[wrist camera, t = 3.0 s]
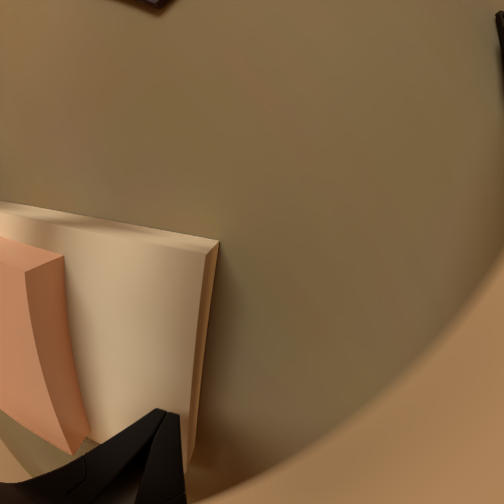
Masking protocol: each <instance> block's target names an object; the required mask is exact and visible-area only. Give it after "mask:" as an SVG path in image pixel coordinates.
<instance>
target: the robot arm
mask: <svg viewBox="0 0 504 504" xmlns="http://www.w3.org/2000/svg"><path fill="white" fill-rule="evenodd" d="M495 16H496V20H497V25H498V29H499V34H500V40H501V45H502V51H503V58H504V12H503V11H499V12H497V13H496V14H495ZM0 504H187V498H186V490H185V480H184V469H183V457H182V443H181V425H180V415H179V414H177V413H173V412H167V411H166V410H163V409H160V408H155V409H153V410H152V411H150V412H149V413H147V414H146V415H145V416H143V417H142V418H140V419H139V420H137V421H136V422H134V423H133V424H131V425H130V426H128V427H127V428H125V429H124V430H122V431H121V432H119V433H118V434H116V435H115V436H113V437H111V438H110V439H108V440H107V441H105V442H104V443H102V444H100V445H99V446H97V447H96V448H94V449H92V450H91V451H89V452H87V453H86V454H84V456H83V455H82V456H81V457H79V458H77V459H76V460H74V461H72V462H70V463H68V464H66V465H64V466H62V467H60V468H58V469H55V470H53V471H51V472H48V473H45V474H43V475H40V476H37V477H35V478H32V479H29V480H26V481H23V482H18V483H3V482H0Z"/></svg>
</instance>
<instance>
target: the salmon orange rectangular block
mask: <svg viewBox="0 0 504 504" xmlns="http://www.w3.org/2000/svg"><path fill="white" fill-rule="evenodd" d="M0 409H1V410H2V411H4V412H5V413H6V414H8V415H9V416H10V417H12V418H13V419H14V420H16V421H17V422H19V423H20V424H22V425H23V426H24V427H26V428H27V429H29V430H30V431H32V432H33V433H35V434H36V435H38V436H40V437H41V438H43V439H44V440H46V441H48V442H49V443H51V444H53V445H54V446H56V447H58V448H60V449H61V450H63V451H65V452H67V453H69V454H70V455H72V456H73V455H74V454H75V452H76V451H77V449H78V448H79V446H80V445H81V443H82V442H83V440H84V439H85V437H86V436H87V435H88V433H89V432H90V430H91V429H90V426H89V423H88V419H87V416H86V412H85V408H84V404H83V401H82V397H81V392H80V388H79V384H78V379H77V374H76V369H75V364H74V358H73V353H72V346H71V340H70V333H69V325H68V317H67V307H66V295H65V279H64V255H61V254H57V253H54V252H51V251H47V250H44V249H40V248H37V247H34V246H30V245H27V244H24V243H20V242H17V241H14V240H11V239H8V238H5V237H1V236H0Z"/></svg>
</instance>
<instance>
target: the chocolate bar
mask: <svg viewBox="0 0 504 504" xmlns="http://www.w3.org/2000/svg"><path fill="white" fill-rule="evenodd" d="M136 1H139V2H142V3H144V4H147V5H150V6H152V7H155V8H158V9H161V8H162V7H163V6H164V5H165V4H166V3H167V2H168V1H169V0H136Z"/></svg>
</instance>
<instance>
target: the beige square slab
mask: <svg viewBox="0 0 504 504" xmlns="http://www.w3.org/2000/svg"><path fill="white" fill-rule="evenodd" d="M0 236H1V237H5V238H8V239H11V240H14V241H17V242H20V243H24V244H27V245H30V246H34V247H37V248H40V249H44V250H47V251H51V252H54V253H57V254H61V255H64V279H65V295H66V307H67V317H68V325H69V333H70V340H71V346H72V353H73V358H74V364H75V369H76V374H77V379H78V384H79V388H80V392H81V397H82V401H83V404H84V408H85V412H86V416H87V419H88V423H89V426H90V429H91V430H90V432H89V433H88V435H87V436H86V437H87V438H89V439H91V440H93V441H95V442H98V443H100V444H102V443H104V442H105V441H107V440H108V439H110V438H111V437H113V436H115V435H116V434H118V433H119V432H121V431H122V430H124V429H125V428H127V427H128V426H130V425H131V424H133V423H134V422H136V421H137V420H139V419H140V418H142V417H143V416H145V415H146V414H147V413H149V412H150V411H152V410H153V409H155V408H160V409H163V410H166V411H167V412H173V413H177V414H179V415H180V425H181V443H182V457H183V469H184V473H186V472H187V469H188V466H189V463H190V459H191V456H192V453H193V450H194V447H195V437H196V426H197V416H198V405H199V396H200V386H201V377H202V368H203V359H204V351H205V342H206V334H207V326H208V319H209V311H210V303H211V296H212V289H213V281H214V274H215V267H216V261H217V254H218V247H219V241H218V240H213V239H208V238H202V237H197V236H191V235H186V234H181V233H175V232H170V231H165V230H159V229H154V228H148V227H143V226H138V225H132V224H127V223H121V222H116V221H110V220H105V219H99V218H94V217H88V216H83V215H77V214H72V213H66V212H61V211H55V210H50V209H44V208H38V207H33V206H27V205H22V204H16V203H10V202H5V201H0Z"/></svg>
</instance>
